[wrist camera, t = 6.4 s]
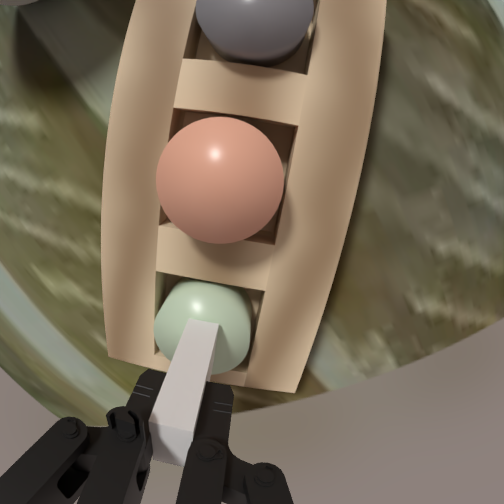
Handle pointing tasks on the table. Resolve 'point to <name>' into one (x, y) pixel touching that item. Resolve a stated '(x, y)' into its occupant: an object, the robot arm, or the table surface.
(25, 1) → the teacup
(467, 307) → the table surface
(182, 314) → the sage button
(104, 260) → the button panel
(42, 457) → the robot arm
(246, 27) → the charcoal button
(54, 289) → the table surface
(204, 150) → the terracotta button
